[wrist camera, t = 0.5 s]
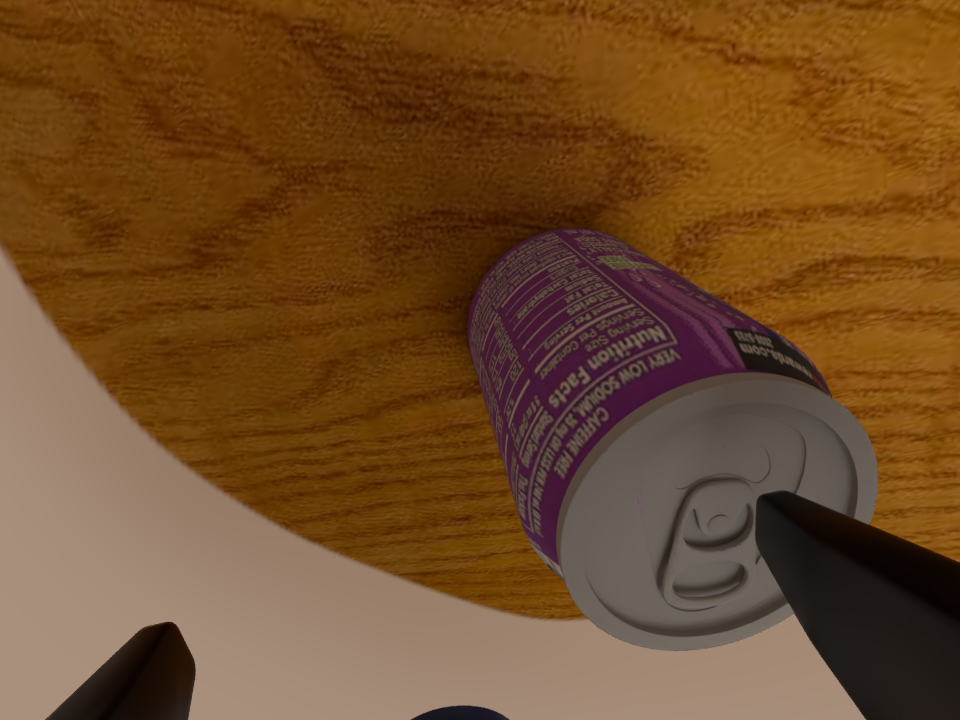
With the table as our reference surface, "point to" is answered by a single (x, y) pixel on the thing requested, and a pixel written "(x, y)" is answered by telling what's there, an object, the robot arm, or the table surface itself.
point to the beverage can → (653, 436)
